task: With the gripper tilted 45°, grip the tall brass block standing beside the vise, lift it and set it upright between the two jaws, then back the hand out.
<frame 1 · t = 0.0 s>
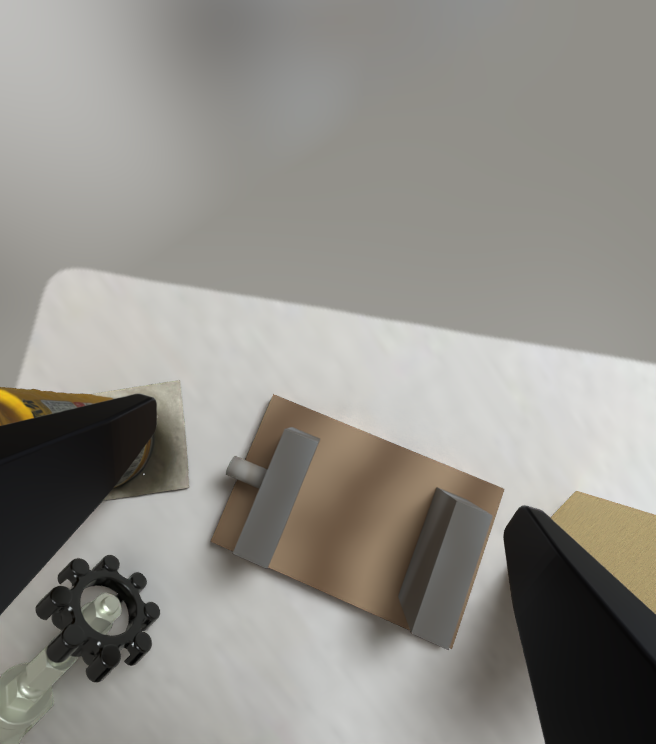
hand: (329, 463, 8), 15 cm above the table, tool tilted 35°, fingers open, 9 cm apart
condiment: (126, 441, 23), on the table
brass block: (574, 552, 22), on the table
vise: (356, 510, 22), on the table
valve: (77, 643, 22), on the table
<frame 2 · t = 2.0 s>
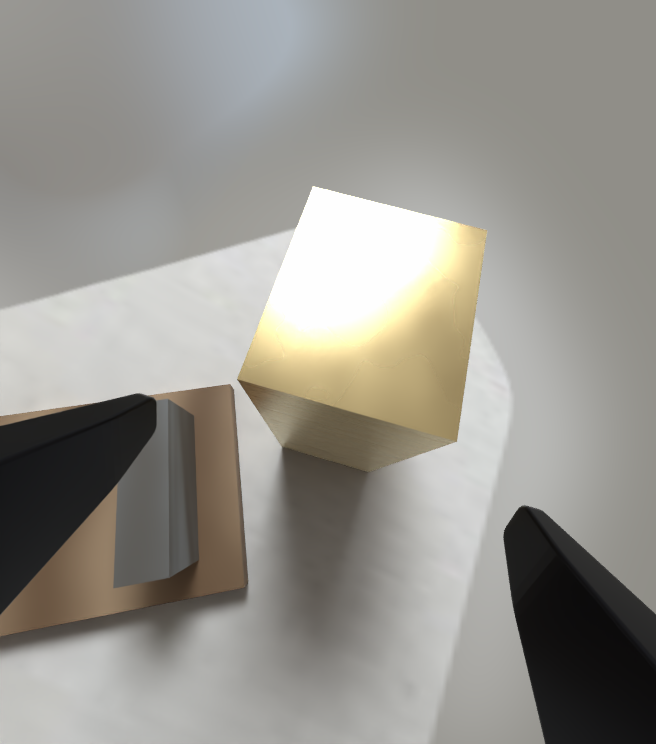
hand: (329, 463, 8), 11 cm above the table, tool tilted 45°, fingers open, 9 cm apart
brass block: (338, 408, 20), on the table
vise: (83, 503, 17), on the table
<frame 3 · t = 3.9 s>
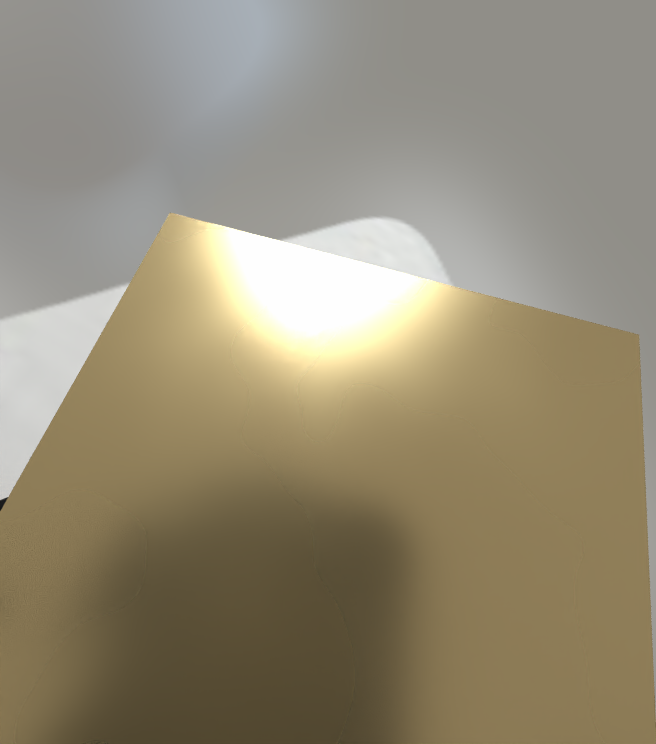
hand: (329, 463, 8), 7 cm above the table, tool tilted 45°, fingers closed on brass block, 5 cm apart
brass block: (312, 508, 14), on the table, touching gripper
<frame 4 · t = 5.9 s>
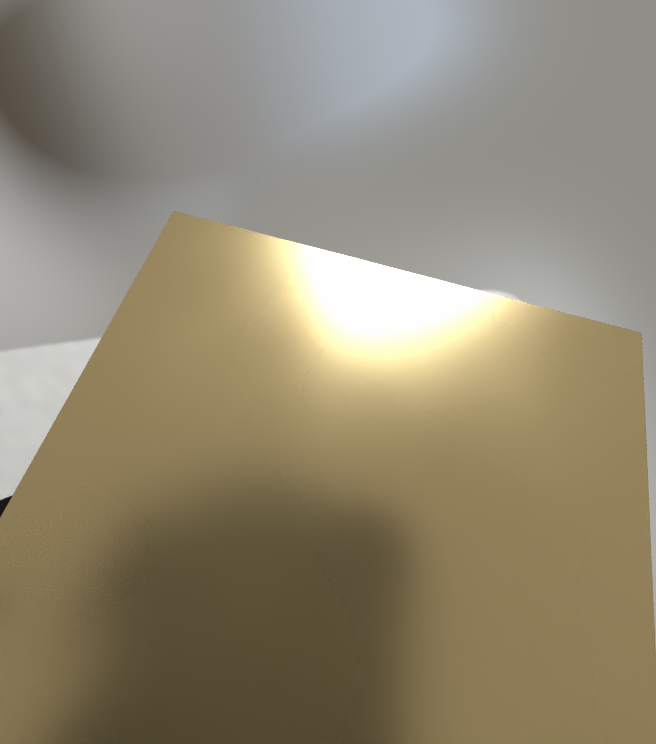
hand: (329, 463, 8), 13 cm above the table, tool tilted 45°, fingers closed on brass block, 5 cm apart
brass block: (313, 507, 14), point 7 cm above the table, touching gripper
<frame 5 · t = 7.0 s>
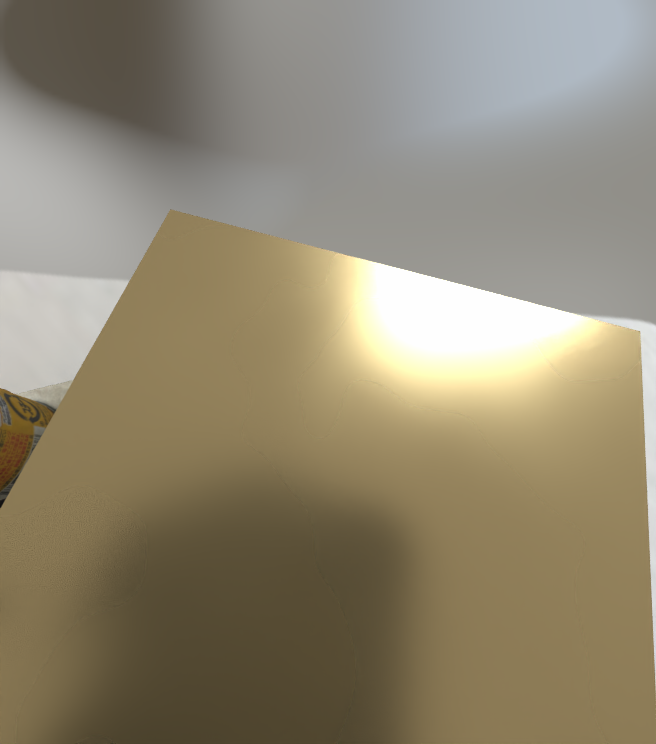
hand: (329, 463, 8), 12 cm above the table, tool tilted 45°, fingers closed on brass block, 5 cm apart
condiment: (34, 450, 19), on the table
brass block: (313, 507, 14), point 5 cm above the table, touching gripper
when the fingers open (9 cm above the table, at t = 8.0 s): brass block drops 1 cm, resting on vise.
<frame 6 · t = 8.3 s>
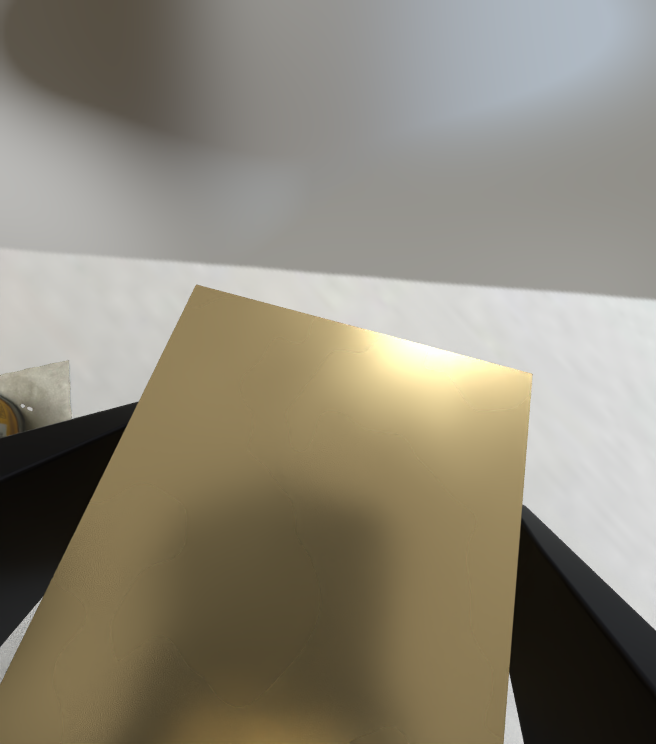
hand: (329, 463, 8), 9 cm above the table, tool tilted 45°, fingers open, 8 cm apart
brass block: (312, 506, 15), point 1 cm above the table, touching vise
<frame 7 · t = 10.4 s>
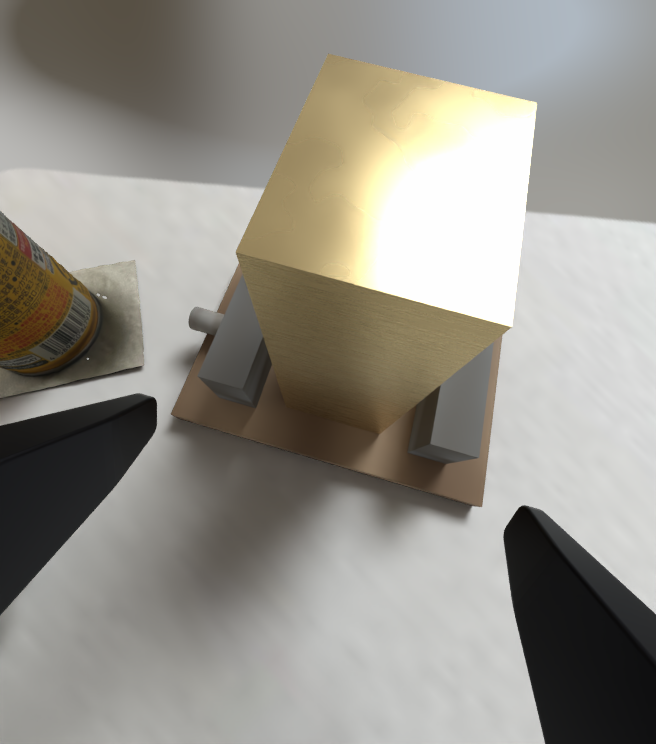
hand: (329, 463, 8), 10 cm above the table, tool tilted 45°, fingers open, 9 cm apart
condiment: (68, 328, 20), on the table
brass block: (347, 367, 18), point 1 cm above the table, touching vise
vise: (346, 374, 19), on the table
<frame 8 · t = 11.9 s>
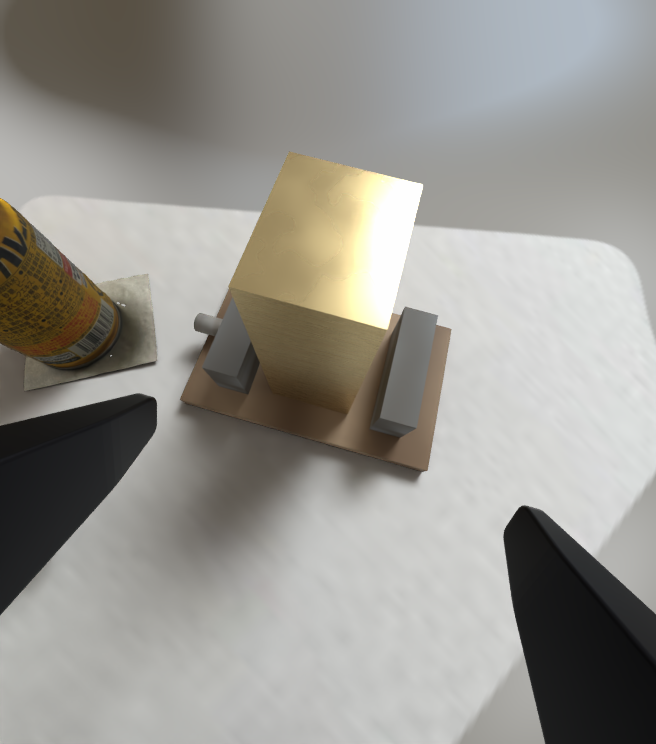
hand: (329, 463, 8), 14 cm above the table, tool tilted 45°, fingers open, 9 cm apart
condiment: (94, 330, 24), on the table
brass block: (322, 361, 22), point 1 cm above the table, touching vise
vise: (322, 367, 23), on the table
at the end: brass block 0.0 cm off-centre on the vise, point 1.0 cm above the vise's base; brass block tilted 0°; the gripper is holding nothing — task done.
